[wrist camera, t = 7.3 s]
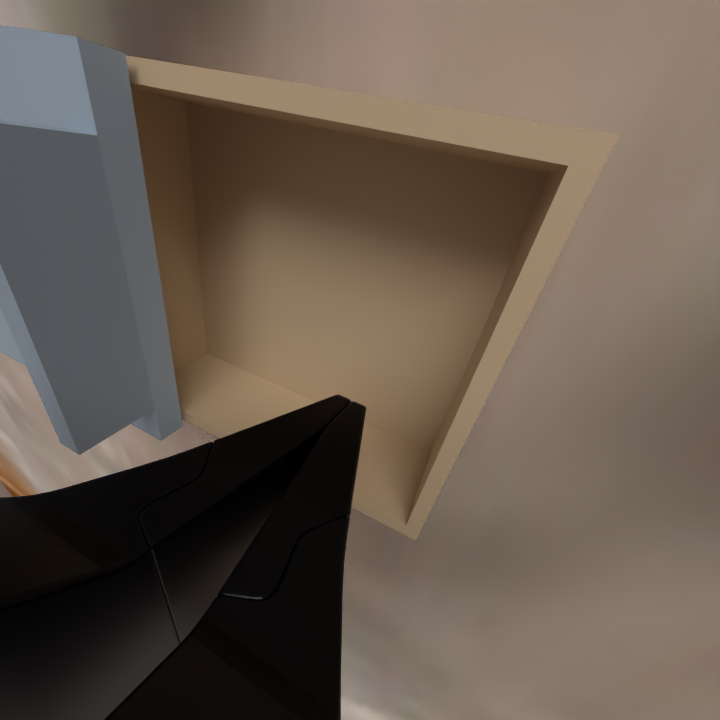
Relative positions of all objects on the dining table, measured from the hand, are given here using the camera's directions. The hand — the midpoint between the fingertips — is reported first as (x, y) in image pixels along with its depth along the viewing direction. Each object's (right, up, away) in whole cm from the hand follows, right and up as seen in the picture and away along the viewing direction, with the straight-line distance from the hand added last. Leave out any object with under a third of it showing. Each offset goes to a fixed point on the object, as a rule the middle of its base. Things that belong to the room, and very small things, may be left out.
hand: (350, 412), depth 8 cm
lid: (-15, +7, +6) cm, 17 cm away
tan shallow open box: (-1, +5, +7) cm, 9 cm away
